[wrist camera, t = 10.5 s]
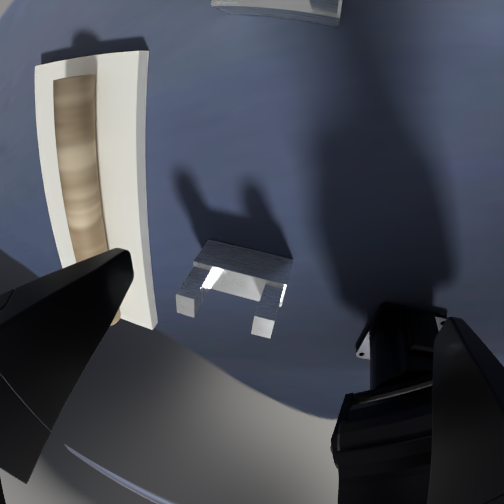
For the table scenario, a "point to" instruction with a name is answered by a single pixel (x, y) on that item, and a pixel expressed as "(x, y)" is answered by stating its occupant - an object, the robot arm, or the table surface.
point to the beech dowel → (79, 165)
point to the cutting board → (106, 164)
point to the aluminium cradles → (235, 257)
